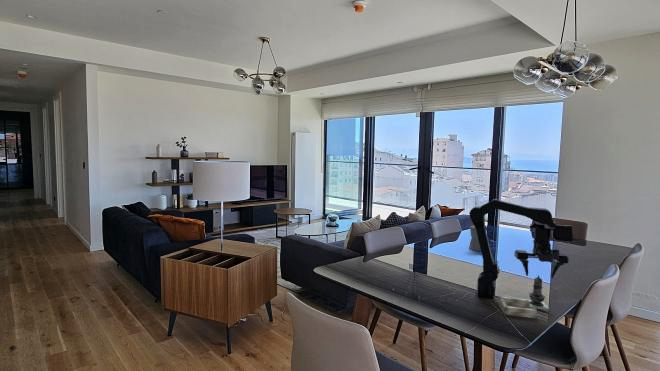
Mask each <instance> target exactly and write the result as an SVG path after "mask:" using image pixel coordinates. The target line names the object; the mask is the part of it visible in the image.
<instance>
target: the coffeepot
mask: <svg viewBox="0 0 660 371" xmlns="http://www.w3.org/2000/svg"><path fill="white" fill-rule="evenodd" d="M485 229H486V232H487V230H488V227H487V225H485ZM469 230H470V237H471V239H470V241H469V247H468V249H469V250H471V251H475V252H481V249H480V245H479V240H478V236H477V232H476V228H475V226H474V225H470V227H469Z"/></svg>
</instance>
